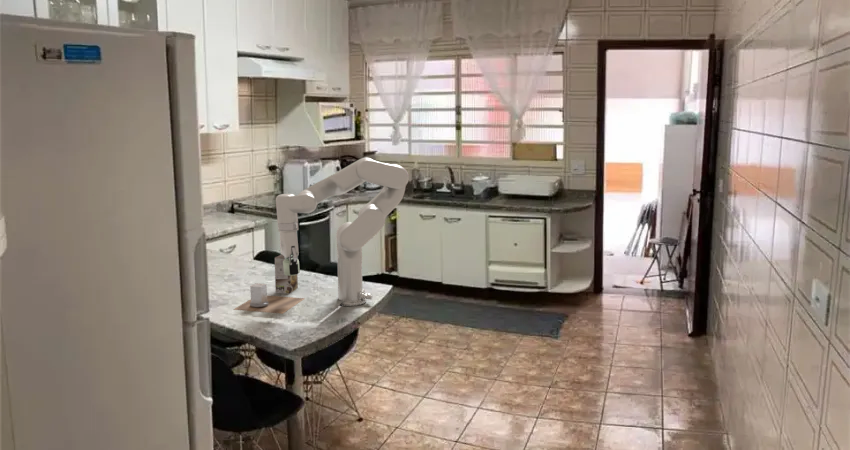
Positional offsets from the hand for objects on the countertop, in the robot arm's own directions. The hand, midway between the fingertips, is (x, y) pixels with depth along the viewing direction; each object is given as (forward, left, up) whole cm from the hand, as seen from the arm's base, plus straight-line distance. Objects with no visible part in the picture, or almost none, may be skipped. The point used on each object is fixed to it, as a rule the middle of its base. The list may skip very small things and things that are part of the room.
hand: (291, 272), depth 266 cm
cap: (0, 0, -1) cm, 1 cm away
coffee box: (+9, -14, -13) cm, 21 cm away
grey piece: (+10, +8, -12) cm, 17 cm away
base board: (+7, +5, -13) cm, 16 cm away
